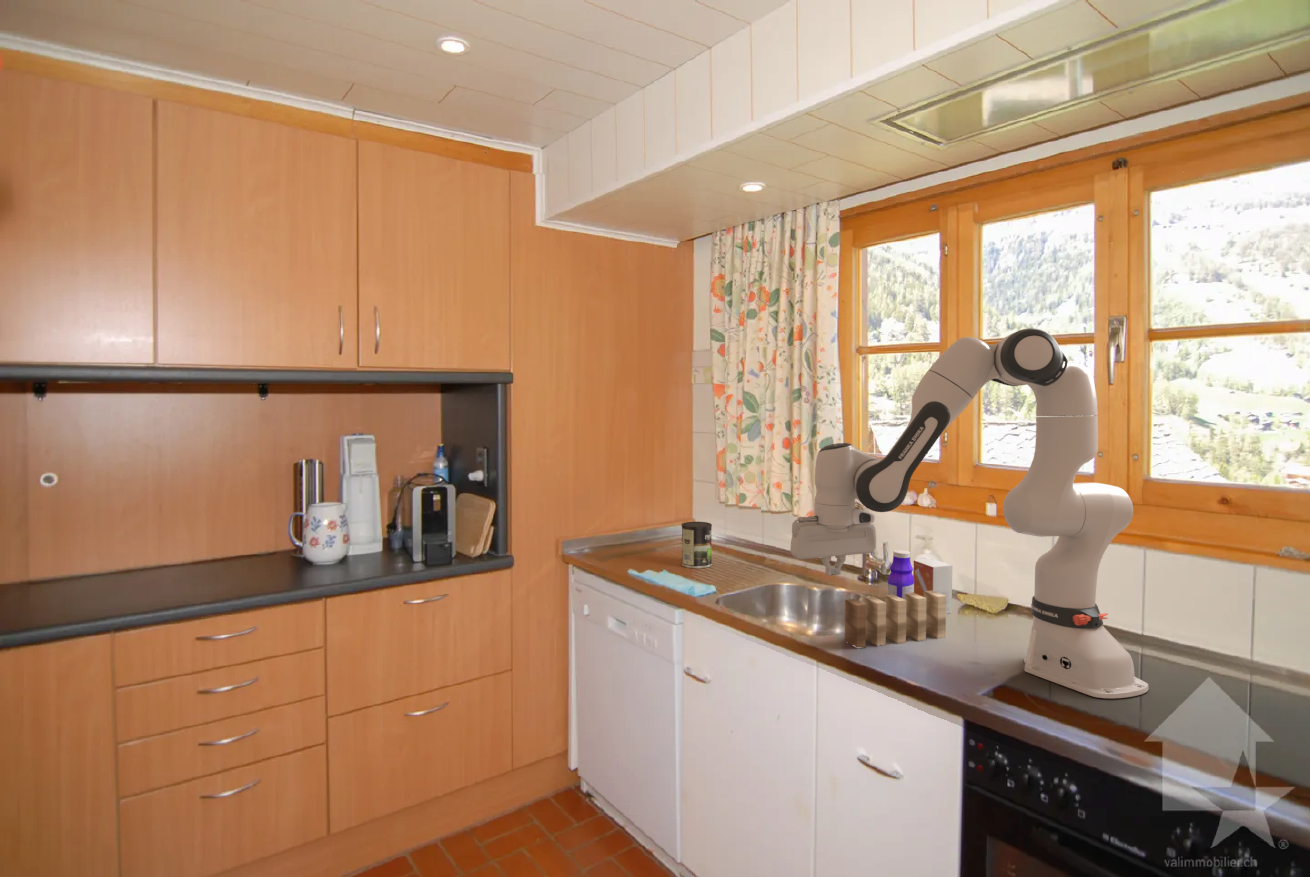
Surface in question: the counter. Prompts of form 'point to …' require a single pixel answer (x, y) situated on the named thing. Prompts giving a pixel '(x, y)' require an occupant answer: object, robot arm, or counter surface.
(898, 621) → the domino
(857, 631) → the domino
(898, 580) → the bottle
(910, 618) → the domino
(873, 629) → the domino
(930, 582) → the small box
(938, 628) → the domino
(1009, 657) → the counter surface
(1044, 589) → the robot arm
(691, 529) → the coffee can
